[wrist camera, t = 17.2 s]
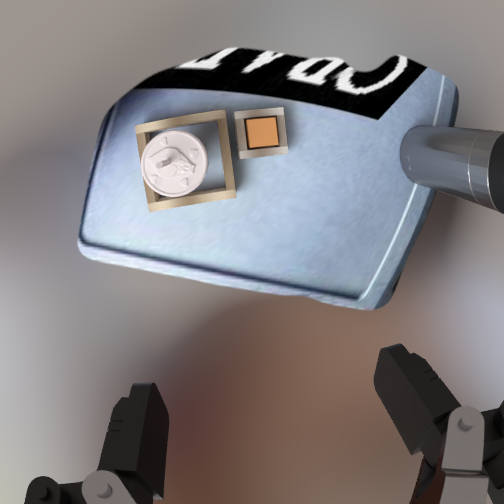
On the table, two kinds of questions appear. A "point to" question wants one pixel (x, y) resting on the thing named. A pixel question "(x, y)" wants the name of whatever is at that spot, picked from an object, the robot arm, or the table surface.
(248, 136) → the button
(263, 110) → the station
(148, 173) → the smoothie
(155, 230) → the table surface
